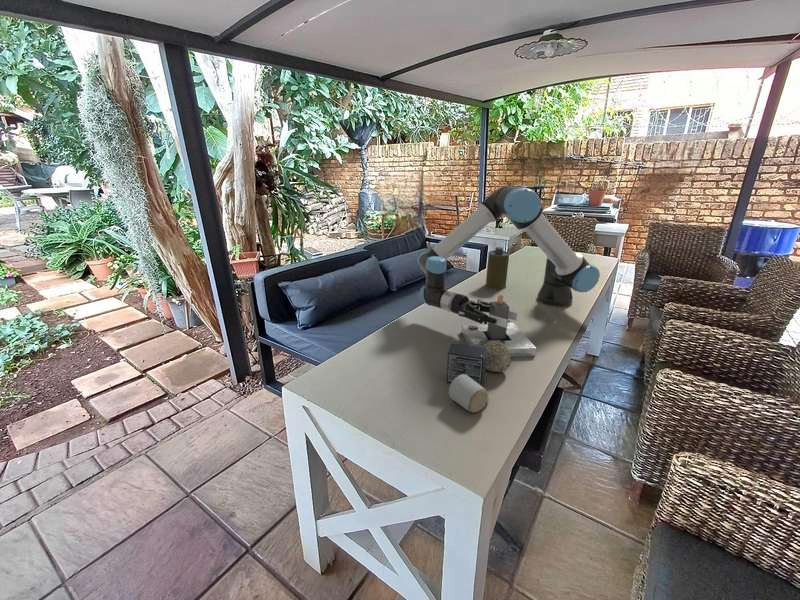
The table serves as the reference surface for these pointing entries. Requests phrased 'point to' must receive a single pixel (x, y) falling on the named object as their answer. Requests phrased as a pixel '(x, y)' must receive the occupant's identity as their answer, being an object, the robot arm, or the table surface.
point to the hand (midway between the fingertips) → (511, 320)
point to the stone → (497, 356)
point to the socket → (514, 339)
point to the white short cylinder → (468, 393)
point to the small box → (466, 362)
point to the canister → (497, 269)
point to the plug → (500, 311)
